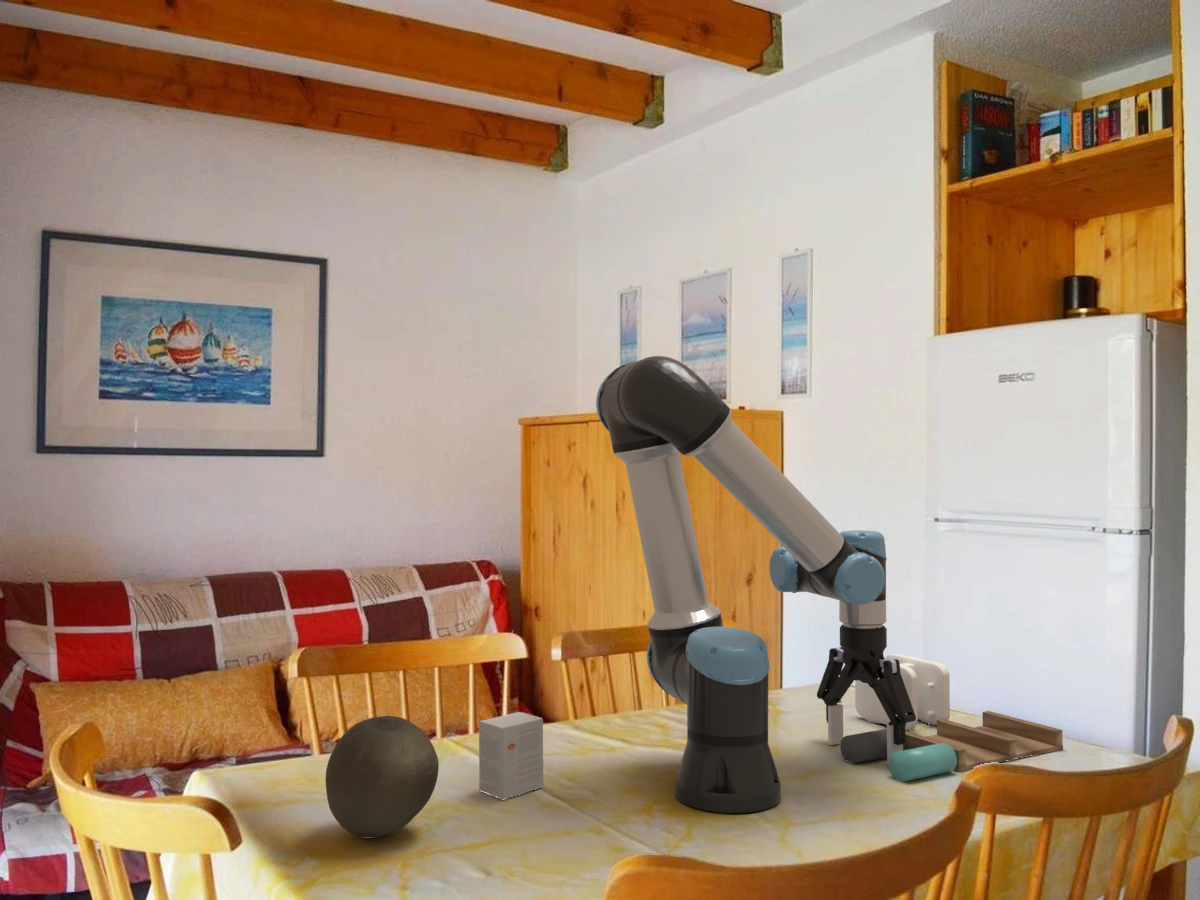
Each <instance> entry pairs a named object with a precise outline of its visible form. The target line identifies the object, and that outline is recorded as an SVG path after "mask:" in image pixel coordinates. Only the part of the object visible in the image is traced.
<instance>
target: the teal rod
mask: <svg viewBox="0 0 1200 900" xmlns="http://www.w3.org/2000/svg"><path fill="white" fill-rule="evenodd" d="M956 765H957V758H956V754H955V752H954V750H953V749H952V747H951V746H950V745H948V744H946V743H939V744H934V745H929V746H924V747H919V748H914V749H909V750H904V751H898V752H894V753H892V754H891V755H890V757H889V762H888V765H887V766H888V769H889V773H890V775H891V776H892V777H893V778H894V780H896V779H898V780H897V781H899V780H900V781H899V782H902V781H903V782H902V783H904V782H906V783H907V782H909V781H914V780H918V779H924V778H927V777H932V776H933V777H934V776H938V775H941V774H947V773H951V772H954V771H953V770H954V769H955V767H956Z"/></svg>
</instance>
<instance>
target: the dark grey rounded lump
mask: <svg viewBox="0 0 1200 900" xmlns="http://www.w3.org/2000/svg"><path fill="white" fill-rule="evenodd" d="M439 763H440V762H439V757H438V755H437V752H436V750H435V747H434V745H433V743H432V741H431V739H430V738H429V736H428V735H427V734H426V732H424V731H423V730H422V729H421V728H420V727H419V726H417V725H416V724H415V723H412V722H411V721H410V720H408V719H407V718H403V717H399V716H398V717H397V716H395V715H393V716H392V715H382V716H374V717H369V718H367V719H363V720H361V721H360V722H358V723H355V724H354V725H353V726H351V727H350V728H349V729H348V730H346V731H345V733H344V734H342V735H341V737H340V738H339V740H338V741H337V743H336V744H335V746H334V747H333V749H332V752H331V754H330V756H329V759H328V762H327V764H326V765H327V766H326V770H325V778H324V779H325V789H326V790H325V791H326V799H327V803H328V807H329V810H330V813H331V814H332V816H333V818H334V819H335V820H336V822H337V823H338V825H340V827H342V829H344V830H345V831H346V832H348V833H350V834H351V835H353V836H355V837H357V836H358V838H361V837H378V838H383V837H387V836H389V835H391V834H393V833H396V832H398V831H400V830H401V829H403V828H404V827H406V826H407V825H408V824H409V823H410V822H411V821H413V819H414V818H415V817H416V816H417V815H418V814H419V813H420V812H421V811H422V810H423V809H424V807H425V806H426V805H427V804H428V802H429V800H430V799H431V797H432V795H433V793H434V790H435V788H436V786H437V781H438V775H439V769H440V767H439V766H440V764H439Z"/></svg>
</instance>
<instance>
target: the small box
mask: <svg viewBox="0 0 1200 900" xmlns="http://www.w3.org/2000/svg"><path fill="white" fill-rule="evenodd" d="M478 744H479V745H478V748H479V749H478V757H479V758H478V759H479V761H478V762H479V763H478V764H479V766H478V767H479V768H478V769H479V770H478V771H479V772H478V774H479V776H478V777H479V783H478V786H479V791H480V790H481V791H484V792H487V793H489V794H491V795H494V796H497V797H499V798H501V799H505V798H508V797H511V796H515V795H519V794H522V793H525V794H527V793H526V792H528V793H530V792H529V791H531V792H533V791H532V790H535V791H537V790H536V789H538V790H540V789H539V788H541V789H543V788H544V719H543V717H539V716H537V715H536V716H535V715H532V714H529V713H525V712H522V711H517V712H513V713H512V712H511V713H508V714H505V715H500V716H496V717H491V718H488V719H484V720H479V722H478ZM522 795H523V794H522ZM519 796H520V795H519ZM515 797H516V796H515Z"/></svg>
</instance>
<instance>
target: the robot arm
mask: <svg viewBox="0 0 1200 900" xmlns="http://www.w3.org/2000/svg"><path fill="white" fill-rule="evenodd" d="M595 401H596V413H597V416H598V418H599V421H600V422H601V424H602V425H603V426H604V428H605V429H606V430H607V432H608V433H609V438H610V442H611V447H612V452H613V455H614V456H615V457H616V458H618V459H619V460H621V461H622V462H623V463H624V464H625V470H626V473H627V478H628V483H629V489H630V493H631V498H632V505H633V509H634V514H635V519H636V523H637V528H638V533H639V538H640V539H639V540H640V544H641V549H642V554H643V559H644V563H645V564H644V565H645V569H646V573H647V578H648V583H649V589H650V594H651V599H652V600H651V601H652V603H653V604H652V605H653V608H654V612H653V614H652V616H651V617H650V619H649V620H648V622H647V627H648V633H649V638H650V641H649V642H648V645H647V648H646V649H647V650H646V662H647V668H648V670H649V673H650V675H651V677H652V678H653V680H654V681H655V683H656V684H657V685H658V686H659V687H660V689H662V690H663V691H664V692H665V693H666V694H668V695H669V696H671V697H672V698H675V699H677V700H679V701H681V702H683V703H684V704H685V705H686V714H687V715H686V721H687V723H686V728H687V729H686V731H687V733H686V734H687V735H686V744H685V748H684V751H683V754H682V758H681V761H680V764H679V769H678V771H677V773H676V776H675V782H674V783H675V784H674V785H675V786H674V789H675V790H674V791H675V792H674V794H675V797H676V799H678V801H679V802H681V803H682V804H684V805H687V806H688V807H692V808H694V809H698V810H702V811H706V812H707V811H708V812H712V813H713V812H715V813H721V814H722V813H723V814H745V813H754V812H759V811H765V810H768V809H771V808H773V807H775V806H777V805H778V804H779V803H780V801H781V799H782V786H781V780H780V777H779V774H778V771H777V767H776V764H775V761H774V757H773V755H772V751H771V748H770V745H769V672H770V660H769V653H768V645H767V644H766V642H765V640H764V639H763V638H762V637H761V636H759V635H758V634H756V633H754V632H752V631H749V630H746V629H739V628H737V627H736V628H735V627H731V626H724V623H723V618H722V614H721V613H722V612H721V609H720V608H719V607H717V606H716V605H714V604H712V603H711V602H710V601H709V598H708V593H707V588H706V587H707V586H706V582H705V577H704V572H703V566H702V561H701V557H700V552H699V547H698V541H697V538H696V532H695V531H696V530H695V527H694V521H693V517H692V512H691V506H690V502H689V496H688V490H687V486H686V481H685V475H684V470H683V466H682V460H681V456H680V454H681V455H682V456H684V457H694V458H695V459H696V460H697V462H699V463H700V464H701V465H702V466H703V467H704V468H705V470H707V471H708V472H709V474H711V475H712V476H713V477H714V478H715V479H716V481H718V482H719V483H720V484H721V485H722V487H724V489H725V490H726V491H728V492H729V494H731V496H732V497H733V498H735V500H737V501H738V503H740V504H741V506H742V507H744V509H746V511H747V512H749V514H750V515H751V516H752V517H753V518H754V519H755V520H756V521H757V522H758V523H759V524H760V525H761V526H762V527H763V528H764V529H765V530H766V531H767V532H768V533H769V534H770V535H771V536H772V538H774V539H775V540H776V541H777V542H778V543H779V544H780V545H781V546H778V547H776V548H775V549H773V551H772V553H771V556H770V557H769V558H770V559H769V564H768V565H769V577H770V581H771V582H772V585H773V587H774V588H775V589H776V590H777V591H778V592H781V593H793V594H796V593H809V594H813V595H818V596H821V597H826V598H829V599H834V600H837V601H839V613H838V614H839V616H838V617H839V622H840V623H842V624H841V625H840V626H839V646H840V647H832V648H830V649H829V652H828V653H829V654H828V662H827V664H826V667H825V669H824V673H823V674H822V675H823V676H822V679H821V681H820V684H819V686H818V690H817V691H816V697H817V699H819V700H822V701H823V702H824V705H825V713H826V715H825V716H826V717H825V719H826V723H827V728H828V731H827V733H828V734H827V736H828V737H827V738H828V739H827V742H828V745H830V746H834V745H840V744H841V740H842V738H843V737H844V704H842V702H843V701H842V699H843V698H844V696H845V695H846V693H847V691H848V690H849V689H850V687H851V686H852V684H853V682H854V681H857V680H860V681H861V682H863V683H868V685H869V686H870V687H871V688H873V690H874V691H875V693H876V695H877V697H878V699H879V701H880V703H881V704H882V706H883V708H884V710H885V712H886V714H887V716H888V717H889V719H890V722H889V723H887V725H886V729H887V757H886V765H887V766H889V765H888V762H889V757H890V755H891V754H892V753H894V752H898V751H903V744H905V725H906V723H907V722H912V721H915V720H916V716H915V713H914V710H913V707H912V704H911V702H910V699H909V696H908V693H907V690H906V688H905V685H904V682H903V679H902V676H901V673H900V663H899V660H898V659H893V660H885V659H884V658H885V657H884V651H885V649H887V646H888V641H887V640H888V639H887V637H888V635H887V628H886V626H885V625H884V624H886V623H887V558H888V557H887V553H886V552H887V550H886V543H885V540H886V539H885V537H884V535H883V533H881V532H880V531H876V530H862V529H861V530H860V529H859V530H843V531H840V532H839V531H838V530H837V528H835V527H834V526H833V525H832V524H831V522H829V520H828V519H827V518H826V517H825V516H824V515H823V514H822V513H821V512H820V511H819V510H818V509H817V508H816V507H815V506H814V505H813V504H812V503H811V502H810V501H809V500H808V498H806V497H805V495H804V494H803V493H802V492H801V491H800V490H799V489H798V488H797V487H796V486H795V485H794V484H793V483H792V481H790V480H789V478H788V477H787V476H785V474H783V473H782V471H781V470H780V469H779V468H778V467H777V465H775V464H774V463H773V462H772V461H771V460H770V459H769V458H768V457H767V456H766V454H765V453H763V451H762V450H761V449H760V448H759V446H757V445H756V444H755V443H754V442H753V441H752V440H751V439H750V438H749V437H748V436H747V435H746V434H745V432H743V430H741V429H740V427H738V426H737V425H736V423H735V422H734V421H733V420H732V409H731V408H730V407H729V405H727V403H725V401H723V399H722V398H721V397H720V396H719V395H718V394H717V393H716V392H715V391H714V390H713V389H712V388H711V387H710V386H709V385H708V384H707V383H706V382H705V381H704V380H703V379H702V378H701V377H700V376H699V375H698V374H697V373H696V372H695V371H693V370H692V369H691V368H690V367H688V366H687V365H686V364H684V363H682V362H681V361H680V360H678V359H674V358H672V357H669V356H665V355H664V356H663V355H655V356H653V355H651V356H648V357H645V358H643V359H640V360H637V361H630V362H628V363H623V364H621V365H619V366H618V367H616V368H615V369H613V370H612V371H611V372H610V373H609V374H608V375H606V377H604V379H603V380H602V382H601V384H600V386H599V388H598V390H597V394H596V400H595ZM878 677H879V679H878ZM906 713H907V714H906ZM896 715H897V716H896Z"/></svg>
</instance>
